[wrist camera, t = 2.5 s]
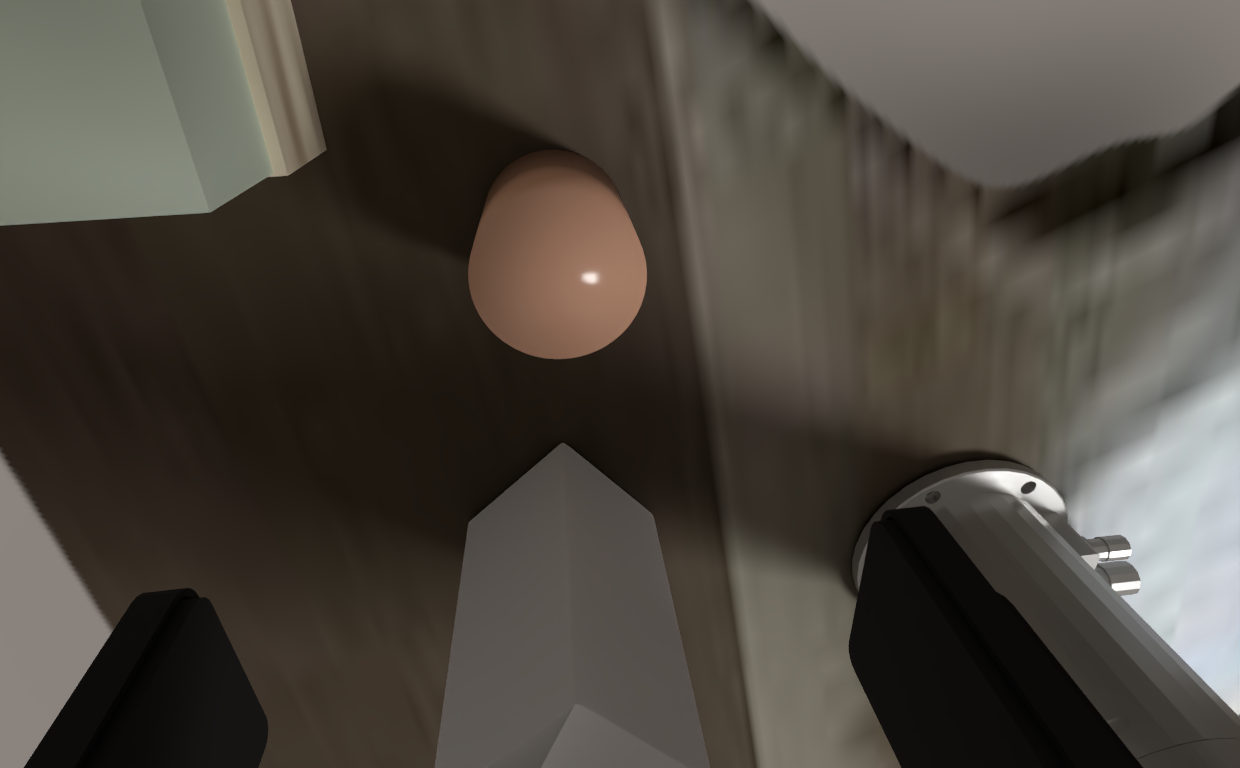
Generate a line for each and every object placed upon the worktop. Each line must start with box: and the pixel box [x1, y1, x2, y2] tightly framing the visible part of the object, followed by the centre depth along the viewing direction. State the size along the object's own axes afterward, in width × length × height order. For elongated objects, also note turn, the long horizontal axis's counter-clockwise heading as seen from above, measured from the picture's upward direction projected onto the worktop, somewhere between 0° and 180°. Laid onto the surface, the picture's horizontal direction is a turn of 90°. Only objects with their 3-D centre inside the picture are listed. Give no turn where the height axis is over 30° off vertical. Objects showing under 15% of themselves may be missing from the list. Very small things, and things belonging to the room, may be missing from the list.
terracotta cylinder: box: [468, 150, 647, 359], centre depth 26 cm, size 6×6×7 cm
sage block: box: [0, 0, 273, 226], centre depth 18 cm, size 8×8×5 cm
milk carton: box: [435, 443, 710, 768], centre depth 28 cm, size 7×7×19 cm
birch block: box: [225, 0, 327, 177], centre depth 22 cm, size 9×9×5 cm
